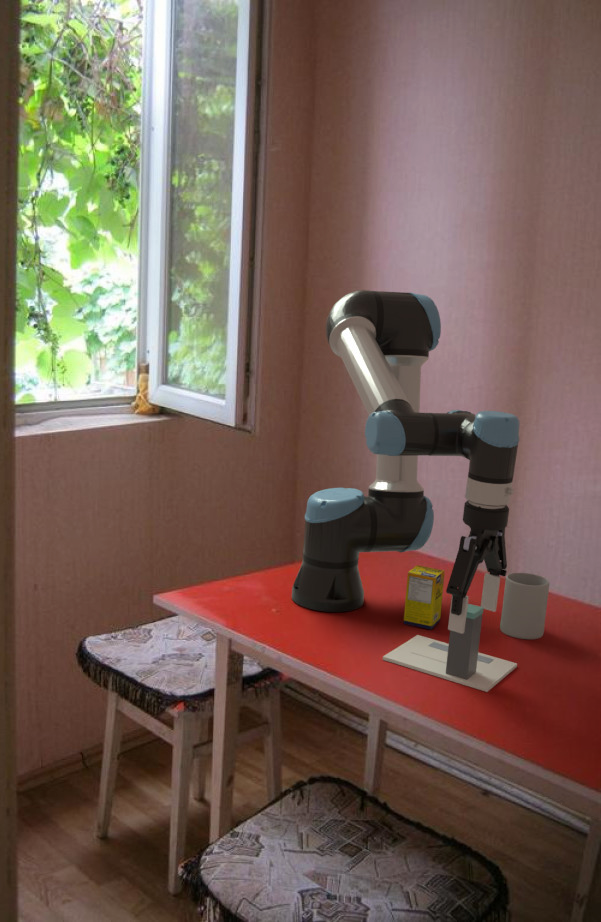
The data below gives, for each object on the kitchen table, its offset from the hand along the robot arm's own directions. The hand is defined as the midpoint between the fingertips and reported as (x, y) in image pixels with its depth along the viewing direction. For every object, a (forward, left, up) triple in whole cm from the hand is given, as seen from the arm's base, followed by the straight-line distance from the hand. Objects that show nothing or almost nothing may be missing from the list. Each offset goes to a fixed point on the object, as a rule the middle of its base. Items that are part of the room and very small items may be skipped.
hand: (472, 620), depth 167 cm
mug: (-1, +27, -10) cm, 29 cm away
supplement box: (-17, +16, -10) cm, 25 cm away
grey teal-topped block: (0, -3, -9) cm, 9 cm away
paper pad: (-4, +1, -10) cm, 10 cm away
